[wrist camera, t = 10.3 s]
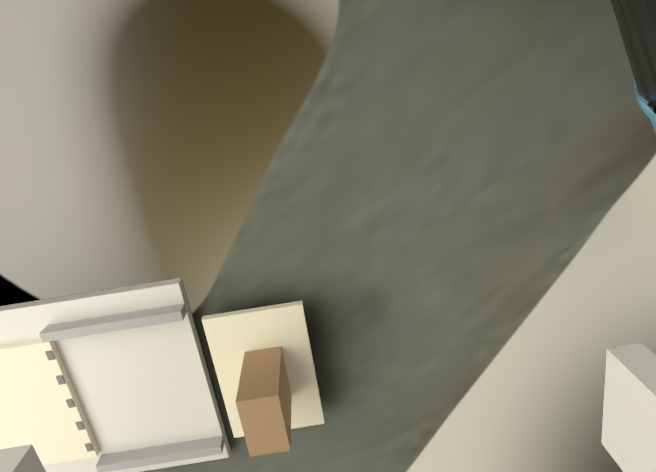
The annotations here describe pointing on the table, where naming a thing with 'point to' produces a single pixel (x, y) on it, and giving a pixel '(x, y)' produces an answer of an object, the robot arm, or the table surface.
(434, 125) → the table surface
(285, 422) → the tabbed cream panel
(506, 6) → the table surface
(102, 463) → the ticket board
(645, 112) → the robot arm
